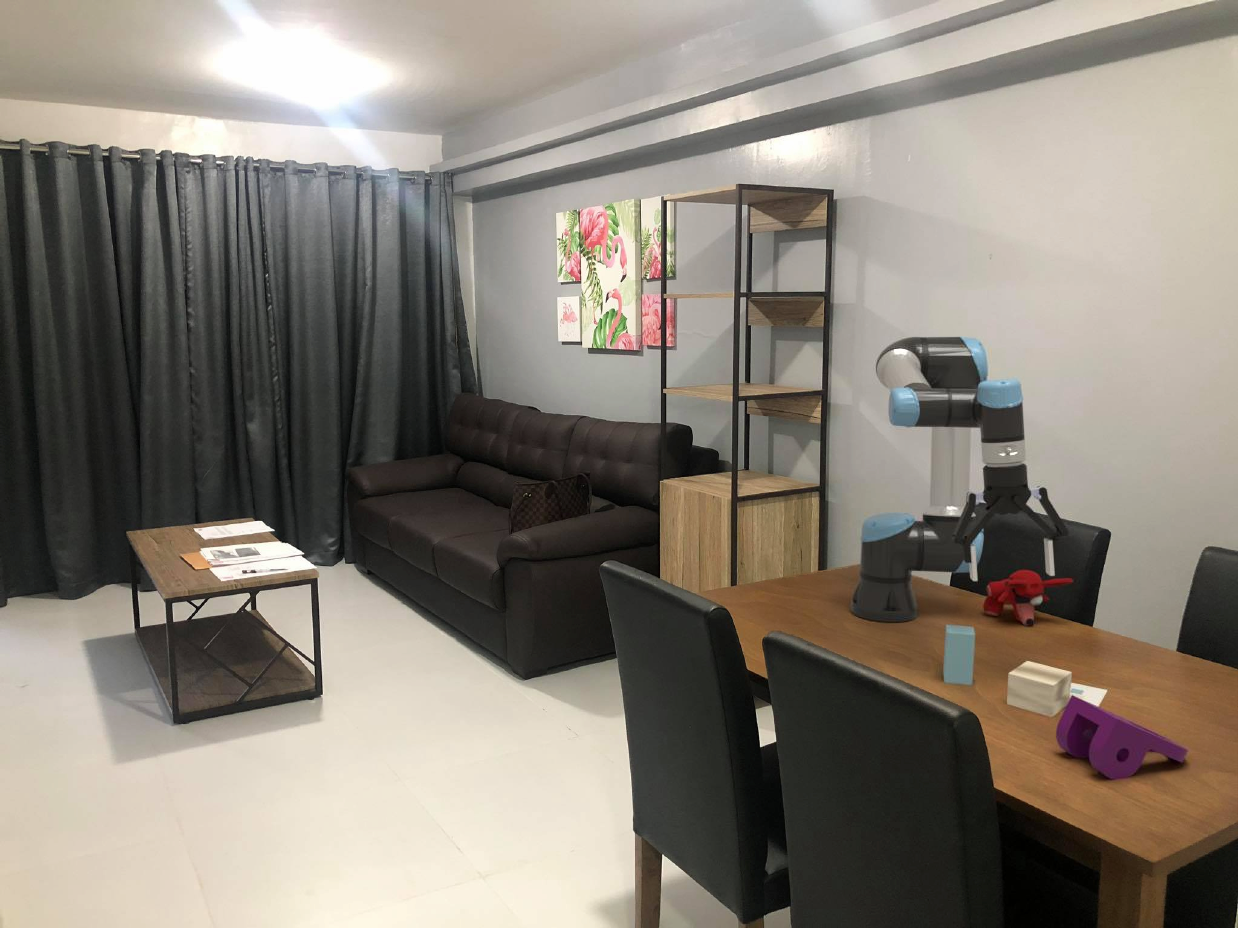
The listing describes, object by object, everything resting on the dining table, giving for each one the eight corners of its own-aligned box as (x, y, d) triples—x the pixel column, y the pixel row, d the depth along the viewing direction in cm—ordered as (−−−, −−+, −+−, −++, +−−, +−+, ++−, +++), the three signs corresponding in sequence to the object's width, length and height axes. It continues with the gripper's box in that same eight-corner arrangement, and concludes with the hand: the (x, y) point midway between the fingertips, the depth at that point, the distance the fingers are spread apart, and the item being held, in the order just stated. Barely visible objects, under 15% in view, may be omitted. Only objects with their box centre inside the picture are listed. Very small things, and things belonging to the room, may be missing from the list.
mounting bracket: (1130, 778, 162) (1047, 743, 156) (1153, 731, 162) (1071, 694, 156) (1177, 806, 153) (1092, 770, 147) (1202, 756, 153) (1117, 718, 147)
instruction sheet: (1056, 680, 188) (1056, 678, 188) (1107, 691, 183) (1107, 689, 183) (1041, 700, 178) (1041, 698, 178) (1095, 712, 173) (1095, 710, 173)
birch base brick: (1025, 691, 182) (1027, 660, 181) (1069, 703, 177) (1071, 671, 175) (1006, 704, 177) (1008, 673, 176) (1051, 717, 171) (1053, 685, 170)
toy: (976, 634, 227) (1017, 619, 212) (965, 582, 231) (1005, 564, 216) (1038, 631, 230) (1083, 617, 215) (1027, 580, 235) (1070, 563, 220)
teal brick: (943, 673, 192) (945, 624, 190) (970, 676, 190) (973, 626, 189) (944, 682, 187) (947, 632, 185) (972, 685, 186) (975, 635, 184)
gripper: (938, 472, 178) (946, 586, 180) (1082, 459, 174) (1089, 576, 176) (930, 467, 185) (938, 577, 187) (1069, 455, 182) (1076, 567, 184)
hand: (1011, 577), depth 182 cm, fingers open, 13 cm apart
